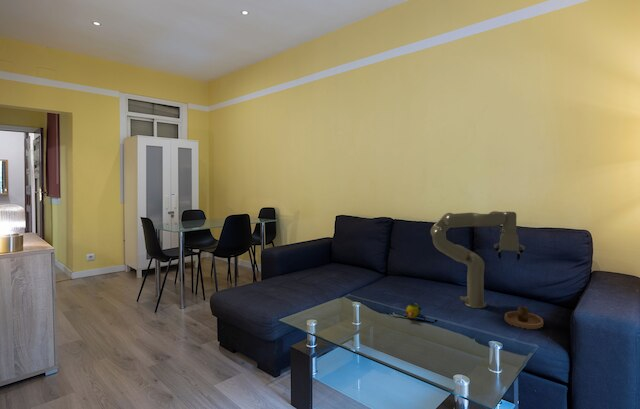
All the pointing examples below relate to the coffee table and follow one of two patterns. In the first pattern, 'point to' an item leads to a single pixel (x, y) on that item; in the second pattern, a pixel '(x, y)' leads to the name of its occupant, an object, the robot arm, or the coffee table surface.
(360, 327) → the coffee table surface
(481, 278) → the robot arm
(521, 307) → the walnut bead
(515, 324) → the round tray
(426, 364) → the coffee table surface
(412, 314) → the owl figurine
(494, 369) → the coffee table surface
